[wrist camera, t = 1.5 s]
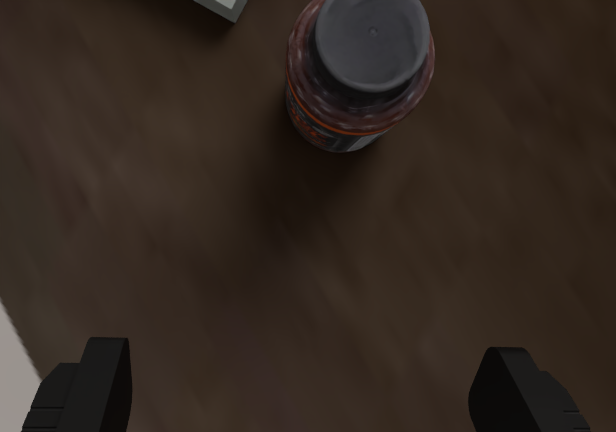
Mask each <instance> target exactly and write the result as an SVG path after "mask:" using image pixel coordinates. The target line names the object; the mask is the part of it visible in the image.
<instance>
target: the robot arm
mask: <svg viewBox="0 0 616 432" xmlns="http://www.w3.org/2000/svg"><path fill="white" fill-rule="evenodd" d="M131 403H132V376H131V363H130V350H129V341H128V338H108V337H91V338H90V339H89V340H88V342H87V344H86V347H85V350H84V353H83V355H82V358H81V361H80V363H59V364H58V365H57V367H56V368H55V369H54V370H53V371H52V372H51V373H50V374H49V375H48V376H47V377H46V378H45V379H44V380H43V381H42V382H41V383H40V386H39V388H38V391H37V393H36V395H35V398H34V400H33V402H32V405H31V409H30V412H28V414H27V417H26V419H25V421H24V424H23V426H22V431H21V432H126V429H127V425H128V421H129V416H130V410H131ZM468 406H469V412H470V416H471V419H472V422H473V424H474V427H475V429H476V432H590V427H589V425H588V424H587V422H586V420H585V419H584V417H583V416H582V415H580V414H579V409H578V408H577V406H576V404H575V403H574V401H573V399H572V398H571V396H570V395H569V393H568V391H567V390H566V389H565V388H564V387H563V386H562V385H561V384H560V383H559V382H558V381H557V380H555V379H554V378H553V377H552V376H551V375H550V374H549V373H548V372H547V371H539V369H538V368H537V366H536V364H535V363H534V361H533V359H532V358H531V356H530V354H529V353H528V352H527V350H525V349H524V348H518V347H490V348H488V349H487V350H486V352H485V354H484V357H483V359H482V362H481V364H480V367H479V369H478V371H477V374H476V376H475V379H474V381H473V384H472V386H471V389H470V391H469V397H468Z"/></svg>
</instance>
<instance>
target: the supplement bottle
mask: <svg viewBox="0 0 616 432" xmlns="http://www.w3.org/2000/svg"><path fill="white" fill-rule="evenodd" d="M434 63H435V50H434V43H433V38H432V35H431V32H430V29H429V22H428V18H427V15H426V12H425V10H424V8H423V6H422V5H421V3H420V1H419V0H312V1H311V2H310V3H309V4H308V5H307V6H306V7H305V8H304V9H303V11H302V12H301V14H300V15H299V17H298V18H297V20H296V21H295V23H294V26H293V28H292V30H291V33H290V36H289V39H288V42H287V50H286V68H285V69H286V85H285V96H286V106H287V110H288V114H289V117H290V119H291V121H292V123H293V125H294V127H295V129H296V130H297V131H298V133H299V134H300V135H301V136H302V137H303V138H304V139H305V140H307V141H308V142H309V143H311V144H312V145H314V146H316V147H318V148H320V149H323V150H326V151H330V152H338V153H342V152H351V151H355V150H358V149H361V148H363V147H365V146H367V145H369V144H371V143H373V142H374V141H375V140H376V139H378V138H379V137H380V136H382V135H383V134H384V133H385V132H387V131H388V130H389V129H391V128H392V127H394V126H395V125H396V124H397V123H399V122H400V121H401V120H402V119H404V118H405V117H406V116H407V115H409V114H410V113H411V112H412V110H413V109H414V108H415V107H416V106H417V105H418V103H419V102H420V101H421V99H422V98H423V96H424V94H425V93H426V91H427V89H428V87H429V84H430V81H431V79H432V75H433V71H434Z"/></svg>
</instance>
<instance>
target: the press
mask: <svg viewBox="0 0 616 432" xmlns="http://www.w3.org/2000/svg"><path fill="white" fill-rule="evenodd" d="M193 1H195V2H197V3H199V4H201V5H203V6H204V7H206V8H208V9H210V10H212V11H213V12H215V13H217V14H219V15H221V16H223V17H224V18H226V19H228V20H230V21H232V22H234V23H236V21H237V19H238V17H239V15H240V14H241V12H242V10H243V8H244V6H245V4H246V3H247V1H248V0H193Z"/></svg>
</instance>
